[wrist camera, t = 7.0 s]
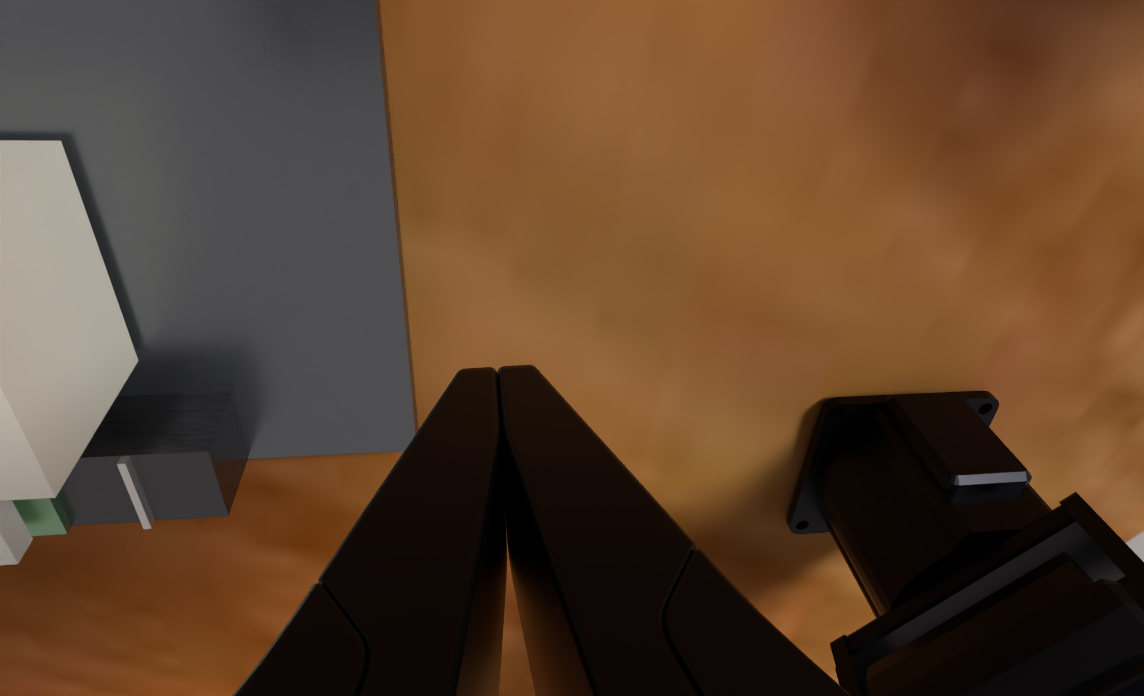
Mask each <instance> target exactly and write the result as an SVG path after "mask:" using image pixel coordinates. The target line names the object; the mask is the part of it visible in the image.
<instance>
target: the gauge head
mask: <svg viewBox="0 0 1144 696" xmlns="http://www.w3.org/2000/svg"><path fill="white" fill-rule="evenodd" d="M137 362H138V358H137V355H136V352H135V349H134V347H133V344H132V341H131V338H130V335H129V332H128V329H127V327H126V324H125V321H124V318H123V315H122V312H121V310H120V307H119V304H118V301H117V298H116V295H115V293H114V290H113V287H112V284H111V281H110V278H109V276H108V273H107V270H106V267H105V264H104V261H103V258H102V256H101V253H100V250H99V247H98V244H97V241H96V239H95V236H94V233H93V230H92V227H91V224H90V222H89V219H88V216H87V213H86V210H85V207H84V204H83V202H82V199H81V196H80V193H79V190H78V187H77V185H76V182H75V179H74V176H73V173H72V170H71V168H70V165H69V162H68V159H67V156H66V153H65V151H64V148H63V145H62V142H61V141H27V140H0V565H13V564H19V562H20V560H21V559H22V557H23V555H24V554H25V552H26V550H27V549H28V547H29V545H30V544H31V542H32V540H33V538H32V536H31V534H30V533H29V531H28V529H27V527H26V525H25V523H24V522H23V520H22V518H21V516H20V514H19V512H18V511H17V509H16V507H15V505H14V503H13V501H12V500H23V499H42V498H56V496H57V494H58V493H59V491H60V490H61V488H62V486H63V485H64V483H65V481H66V480H67V478H68V476H69V475H70V473H71V471H72V470H73V468H74V466H75V465H76V463H77V461H78V460H79V458H80V456H81V455H82V453H83V452H84V450H85V448H86V447H87V445H88V443H89V442H90V440H91V438H92V437H93V435H94V433H95V432H96V430H97V428H98V427H99V425H100V423H101V422H102V420H103V418H104V417H105V415H106V414H107V412H108V410H109V409H110V407H111V405H112V404H113V402H114V400H115V399H116V397H117V395H118V394H119V392H120V390H121V389H122V387H123V385H124V384H125V382H126V380H127V379H128V377H129V376H130V374H131V372H132V371H133V369H134V367H135V366H136V364H137Z"/></svg>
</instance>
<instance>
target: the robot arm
mask: <svg viewBox="0 0 1144 696" xmlns="http://www.w3.org/2000/svg"><path fill="white" fill-rule="evenodd" d="M497 378H498V380H497ZM998 407H999V402H998V400H997V399H996V398H995V397H994V396H993V395H992V394H991V393H990V392H988V391H968V392H945V393H922V394H900V395H877V396H854V397H836V398H832V399H830V400H828V401H826V402H825V403H824V404H823V406H822V407H821V409H820V412H819V416H818V419H817V422H816V425H815V428H814V432H813V435H812V438H811V441H810V444H809V448H808V451H807V454H806V457H805V460H804V464H803V467H802V470H801V473H800V476H799V479H798V483H797V486H796V489H795V492H794V495H793V499H792V502H791V505H790V508H789V511H788V515H787V518H786V522H787V524H788V526H789V528H790V530H791V532H792V533H795V534H808V533H822V532H830V533H831V535H832V536H833V538H834V540H835V542H836V544H837V546H838V548H839V550H840V551H841V553H842V555H843V557H844V559H845V561H846V563H847V564H848V566H849V568H850V570H851V572H852V574H853V576H854V577H855V579H856V581H857V583H858V585H859V587H860V589H861V590H862V592H863V594H864V596H865V598H866V600H867V602H868V603H869V605H870V607H871V609H872V611H873V613H874V615H875V616H876V619H874V620H873V621H871V622H870V623H868V624H866V625H865V626H863V627H861V628H860V629H858V630H857V631H855V632H853V633H852V634H850V635H848V636H846V635H843V636H841V637H839V638H838V639H836V640H834V641H833V642H831V643H830V646H831V650H832V654H833V657H834V661H835V664H836V668H835V669H836V674H837V677H838V681H839V684H840V685H839V684H838V683H836V682H835V681H834V680H833V679H832V678H831V677H830V676H829V675H827V674H826V673H825V672H824V671H823V670H822V669H821V668H820V667H818V666H817V665H816V664H815V663H814V662H813V661H812V660H810V659H809V658H808V657H807V656H806V655H805V654H804V653H803V652H802V651H801V650H800V649H798V648H797V647H796V646H795V645H794V644H793V643H792V642H791V641H790V640H789V639H788V638H787V637H786V636H785V635H783V634H782V633H781V632H780V631H779V630H778V629H777V628H776V627H775V626H774V625H773V624H772V623H771V622H770V621H768V620H767V619H766V618H765V617H764V616H763V615H762V614H761V613H760V612H759V611H758V610H757V609H756V608H755V607H754V606H753V605H752V604H751V603H750V602H749V601H748V600H747V599H746V597H745V596H744V595H743V594H742V593H741V592H740V591H739V590H738V589H737V588H736V587H735V586H734V585H733V584H732V583H731V582H730V581H729V580H728V579H727V578H726V577H725V576H724V575H723V574H722V572H721V571H720V570H719V569H718V568H717V567H716V566H715V565H714V564H713V562H712V561H711V560H710V559H709V558H708V557H707V556H706V555H705V553H704V552H703V551H702V550H701V549H695V548H696V545H695V543H694V542H693V541H692V539H691V538H690V537H689V536H688V535H687V534H686V533H685V532H684V531H683V530H682V528H681V527H680V526H679V525H678V524H677V523H676V522H675V521H674V520H673V518H672V517H671V516H670V515H669V514H668V513H667V512H666V511H665V510H664V509H663V507H662V506H661V505H660V504H659V503H658V502H657V501H656V500H655V499H654V497H653V496H652V495H651V494H650V493H649V492H648V491H647V490H646V489H645V488H644V486H643V485H642V484H641V483H640V482H639V481H638V480H637V479H636V478H635V476H634V475H633V474H632V473H631V472H630V471H629V470H628V469H627V468H626V467H625V465H624V464H623V463H622V462H621V461H620V460H619V459H618V458H617V457H616V455H615V454H614V453H613V452H612V451H611V450H610V449H609V448H608V447H607V446H606V444H605V443H604V442H603V441H602V440H601V439H600V438H599V437H598V436H597V434H596V433H595V432H594V431H593V430H592V429H591V428H590V427H589V426H588V425H587V423H586V422H585V421H584V420H583V419H582V418H581V417H580V416H579V415H578V413H577V412H576V411H575V410H574V409H573V408H572V407H571V406H570V405H569V404H568V402H567V401H566V400H565V399H564V398H563V397H562V396H561V395H560V394H559V392H558V391H557V390H556V389H555V388H554V387H553V386H552V385H551V384H550V383H549V381H548V380H547V379H546V378H545V377H544V376H543V375H542V374H541V373H540V371H539V370H538V369H537V368H536V367H535V366H532V365H517V366H503V367H501V368H499V370H498V372H496V370H495V369H494V368H492V367H484V368H467V369H461V370H460V371H458V373H457V374H456V375H455V377H454V378H453V380H452V381H451V383H450V384H449V386H448V387H447V389H446V390H445V392H444V393H443V395H442V396H441V398H440V399H439V401H438V402H437V404H436V405H435V406H434V408H433V409H432V411H431V412H430V414H429V415H428V417H427V418H426V420H425V421H424V423H423V424H422V426H421V427H420V429H419V430H418V432H417V433H416V435H415V436H414V438H413V439H412V441H411V442H410V443H409V445H408V446H407V448H406V449H405V451H404V452H403V454H402V455H401V457H400V458H399V460H398V461H397V463H396V464H395V466H394V467H393V469H392V470H391V472H390V473H389V475H388V476H387V478H386V479H385V481H384V482H383V483H382V485H381V486H380V488H379V489H378V491H377V492H376V494H375V495H374V497H373V498H372V500H371V501H370V503H369V504H368V506H367V507H366V509H365V510H364V512H363V513H362V515H361V516H360V518H359V519H358V520H357V522H356V523H355V525H354V526H353V528H352V529H351V531H350V532H349V534H348V535H347V537H346V538H345V540H344V541H343V543H342V544H341V546H340V547H339V549H338V550H337V552H336V553H335V555H334V556H333V557H332V559H331V560H330V562H329V563H328V565H327V566H326V568H325V569H324V571H323V572H322V574H321V575H320V577H319V579H318V581H319V583H317V584H314V585H313V586H312V588H311V589H310V591H309V592H308V594H307V595H306V597H305V598H304V600H303V601H302V603H301V604H300V606H299V607H298V609H297V610H296V612H295V613H294V615H293V616H292V618H291V619H290V620H289V622H288V623H287V625H286V626H285V627H284V629H283V630H282V632H281V633H280V634H279V636H278V637H277V638H276V640H275V641H274V643H273V644H272V645H271V647H270V648H269V650H268V651H267V652H266V654H265V655H264V656H263V658H262V659H261V661H260V662H259V663H258V665H257V666H256V667H255V669H254V670H253V671H252V672H251V674H250V675H249V676H248V677H247V678H246V680H245V681H244V682H243V683H242V685H241V686H240V687H239V688H238V690H237V691H236V692H235V693H234V695H233V696H499V683H500V668H501V653H502V638H503V623H504V608H505V593H506V577H507V543H508V553H509V561H510V567H511V573H512V579H513V584H514V589H515V594H516V599H517V604H518V609H519V614H520V619H521V624H522V629H523V634H524V639H525V644H526V649H527V654H528V659H529V664H530V669H531V674H532V679H533V684H534V689H535V694H536V696H1144V562H1143V561H1142V560H1141V559H1140V558H1139V557H1138V556H1137V555H1136V554H1135V553H1134V552H1133V551H1132V550H1131V549H1130V548H1129V547H1128V546H1127V544H1126V543H1125V542H1124V541H1123V540H1122V539H1121V538H1120V537H1119V536H1118V535H1117V534H1116V533H1115V532H1114V531H1113V530H1112V529H1111V528H1110V527H1109V526H1108V525H1107V524H1106V523H1105V522H1104V521H1103V520H1102V518H1101V517H1100V516H1099V515H1098V514H1097V513H1096V512H1095V511H1094V510H1093V509H1092V508H1091V507H1090V506H1089V505H1088V504H1087V503H1086V502H1085V501H1084V500H1083V499H1082V498H1081V497H1080V496H1079V495H1078V494H1077V493H1076V492H1075V493H1073V494H1071V495H1070V496H1068V497H1066V498H1065V499H1063V500H1062V501H1060V502H1059V503H1060V504H1061V505H1060V506H1058V507H1057V508H1055V509H1054V510H1051V508H1050V507H1049V506H1048V505H1047V504H1046V503H1045V502H1044V500H1043V499H1042V498H1041V497H1040V496H1039V495H1038V494H1037V493H1036V491H1035V490H1034V489H1033V488H1032V487H1031V486H1030V485H1029V482H1030V481H1031V478H1032V476H1031V474H1030V473H1029V471H1028V470H1027V469H1026V468H1025V467H1024V466H1023V464H1022V463H1021V462H1020V461H1019V460H1018V459H1017V458H1016V457H1015V456H1014V454H1013V453H1012V452H1011V451H1010V450H1009V449H1008V448H1007V447H1006V446H1005V444H1004V443H1003V442H1002V441H1001V440H1000V439H999V438H998V437H997V436H996V434H995V433H994V432H993V431H992V430H991V429H990V428H989V426H990V424H991V422H992V420H993V418H994V416H995V414H996V411H997V409H998ZM839 410H840V411H839ZM836 411H839V412H837V413H835V412H836ZM834 413H835V414H834ZM505 514H506V516H505ZM506 530H507V537H506Z"/></svg>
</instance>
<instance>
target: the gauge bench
mask: <svg viewBox="0 0 1144 696" xmlns="http://www.w3.org/2000/svg"><path fill="white" fill-rule="evenodd" d="M0 140H27V141H61V142H62V145H63V148H64V151H65V153H66V156H67V159H68V162H69V165H70V168H71V170H72V173H73V176H74V179H75V182H76V185H77V187H78V190H79V193H80V196H81V199H82V202H83V204H84V207H85V210H86V213H87V216H88V219H89V222H90V224H91V227H92V230H93V233H94V236H95V239H96V241H97V244H98V247H99V250H100V253H101V256H102V258H103V261H104V264H105V267H106V270H107V273H108V276H109V278H110V281H111V284H112V287H113V290H114V293H115V295H116V298H117V301H118V304H119V307H120V310H121V312H122V315H123V318H124V321H125V324H126V327H127V329H128V332H129V335H130V338H131V341H132V344H133V347H134V349H135V352H136V355H137V358H138V362H137V364H136V366H135V367H134V369H133V371H132V372H131V374H130V376H129V377H128V379H127V380H126V382H125V384H124V385H123V387H122V389H121V390H120V392H119V394H118V395H117V397H116V399H115V400H114V402H113V404H112V405H111V407H110V409H109V410H108V412H107V414H106V415H105V417H104V418H103V420H102V422H101V423H100V425H99V427H98V428H97V430H96V432H95V433H94V435H93V437H92V438H91V440H90V442H89V443H88V445H87V447H86V448H85V450H84V452H83V453H82V455H81V456H80V458H79V460H78V461H77V463H76V465H75V466H74V468H73V470H72V471H71V473H70V475H69V476H68V478H67V480H66V481H65V483H64V485H63V486H62V488H61V490H60V491H59V493H58V494H57V496H56V498H42V499H23V500H12V501H13V503H14V505H15V507H16V509H17V511H18V512H19V514H20V516H21V518H22V520H23V522H24V523H25V525H26V527H27V529H28V531H29V533H30V534H31V536H42V535H58V534H68V532H69V530H70V528H71V526H72V525H86V524H103V523H119V522H136V521H140V522H141V524H142V527H143V529H152V527H153V524H154V522H155V520H169V519H186V518H202V517H219V516H229V513H230V510H231V507H232V504H233V501H234V498H235V495H236V492H237V489H238V486H239V483H240V480H241V477H242V474H243V471H244V468H245V465H246V462H247V459H257V458H276V457H296V456H316V455H336V454H356V453H376V452H396V451H405V449H406V448H407V446H408V445H409V443H410V442H411V441H412V439H413V438H414V436H415V435H416V433H417V432H418V421H417V410H416V399H415V388H414V377H413V366H412V355H411V344H410V333H409V322H408V311H407V300H406V289H405V278H404V267H403V256H402V245H401V234H400V223H399V212H398V201H397V190H396V179H395V168H394V157H393V146H392V135H391V124H390V113H389V103H388V92H387V81H386V70H385V59H384V48H383V37H382V26H381V15H380V4H379V0H0Z"/></svg>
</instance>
